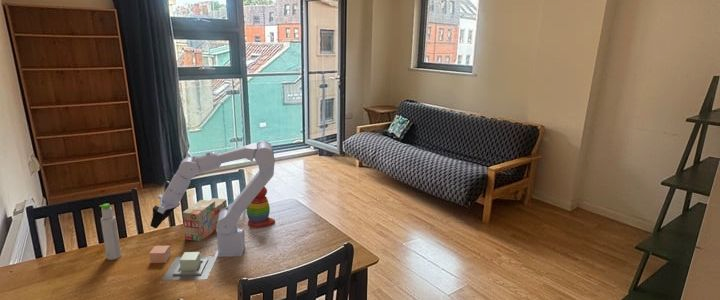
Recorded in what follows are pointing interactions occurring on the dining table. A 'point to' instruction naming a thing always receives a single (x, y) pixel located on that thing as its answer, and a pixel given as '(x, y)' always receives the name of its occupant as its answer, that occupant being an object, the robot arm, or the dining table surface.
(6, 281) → the dining table surface
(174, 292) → the dining table surface
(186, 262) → the sage brick
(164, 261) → the peach block
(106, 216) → the bottle
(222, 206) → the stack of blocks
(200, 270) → the baseplate
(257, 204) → the stacking bear
